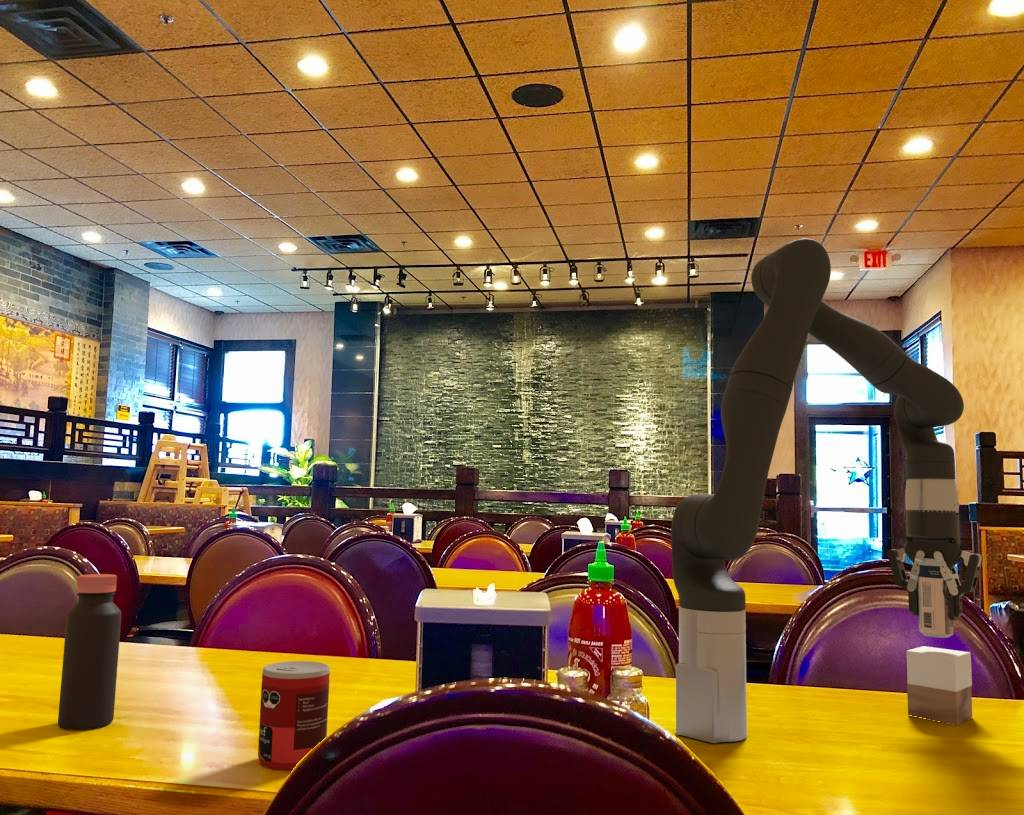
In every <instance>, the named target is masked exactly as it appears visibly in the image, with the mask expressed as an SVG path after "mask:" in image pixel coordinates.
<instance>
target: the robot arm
mask: <svg viewBox="0 0 1024 815" xmlns="http://www.w3.org/2000/svg"><path fill="white" fill-rule="evenodd" d="M831 266H832V265H831V260H830V256H829V253H828V251H827V249H825V247H824V246H823V245H822V244H821V243H820V242H818V241H817V240H815V239H811V238H799V239H794V240H793V241H789V242H788V243H785V244H783V245H782V246H780V247H778V248H776V249H775V250H773V251H772V252H770V253H768V254H767V255H765V256H764V257H762V258H761V259H759V261H757V262H756V263H755V265H754V267H753V268H752V271H751V272H752V273H751V278H750V281H751V286H752V288H753V289H752V290H753V291H754V293H755V295H756V296H757V298H758V299H759V300H760V301H761V302H762V303H763V304H765V305H766V306H767V311H766V313H765V315H764V317H763V319H762V320H761V322H760V324H759V325H758V326H757V328H756V329H755V331H754V333H753V334H752V335H751V337H750V338H749V340H748V341H747V343H745V346H744V347H743V349H742V351H741V352H740V354H739V355H738V357H737V359H736V360H735V362H734V363H733V365H732V366H733V367H732V368H731V371H730V374H729V377H728V380H727V383H726V387H725V389H724V392H723V396H722V400H721V405H720V419H721V427H722V430H723V435H724V436H723V437H724V440H725V446H726V456H725V457H726V458H725V462H724V463H725V464H724V467H723V471H722V475H721V477H720V481H719V483H718V485H717V488H716V490H715V493H709V494H708V493H702V494H701V493H699V494H698V493H696V494H691V495H687V496H686V497H683V499H681V500H680V501H679V502H678V504H677V506H676V507H675V509H674V510H673V511H674V512H673V515H672V519H671V530H670V539H671V540H670V542H671V543H670V544H671V545H670V546H671V561H672V563H671V564H672V577H673V578H672V579H673V584H674V587H675V590H676V591H677V595H678V663H677V664H676V666H675V734H676V735H680V736H683V737H687V738H691V739H695V740H699V741H702V742H707V743H710V744H717V743H727V742H728V743H730V742H738V741H742V740H745V739H746V738H747V736H748V716H747V715H748V714H747V712H748V710H747V709H748V706H747V702H748V701H747V700H748V699H747V644H746V642H747V639H746V638H747V635H746V633H747V632H746V631H747V622H746V621H747V620H746V619H747V618H746V616H747V615H746V608H747V606H746V605H747V603H746V602H747V601H746V600H747V599H746V593H745V592H746V591H745V590H744V588H743V587H742V586H740V585H739V584H738V583H736V582H735V581H734V580H733V579H732V578H731V576H730V575H729V573H728V571H727V569H726V562H725V561H735V560H739V559H741V558H742V557H745V556H746V555H747V553H748V552H749V551H750V550H751V548H752V546H753V544H754V543H755V540H756V538H757V533H758V531H759V528H760V527H759V525H760V522H761V515H762V511H763V504H764V498H765V493H766V487H767V481H768V477H769V476H768V475H769V472H770V468H771V464H772V461H773V456H774V453H775V448H776V446H777V441H778V437H779V434H780V431H781V430H780V429H781V426H782V423H783V420H784V418H785V415H786V412H787V409H788V406H789V402H790V398H791V395H792V391H793V388H794V383H795V378H796V375H797V372H798V368H799V366H800V362H801V359H802V356H803V352H804V349H805V345H806V342H807V340H808V336H809V335H811V336H812V337H813V338H815V339H816V340H818V341H819V342H820V343H822V344H823V345H824V346H826V347H828V348H829V349H830V350H832V351H833V352H834V353H836V354H837V355H838V356H839V357H841V358H842V359H843V360H844V361H845V362H846V363H847V364H849V365H850V366H851V367H852V368H853V369H854V370H855V371H857V373H858V374H860V375H861V377H863V378H864V379H865V380H866V381H867V382H868V383H869V384H871V385H872V386H873V387H874V388H875V389H876V390H877V391H879V392H880V393H883V394H888V395H895V396H897V397H896V399H895V403H894V406H893V407H894V409H893V414H894V421H895V424H896V427H897V428H896V429H897V431H898V435H899V438H900V441H901V445H902V447H903V450H904V453H905V471H906V473H905V476H906V477H905V478H906V481H905V482H906V484H905V493H904V494H905V495H904V497H905V498H904V500H905V503H904V504H905V528H906V533H905V534H906V543H905V544H904V547H902V548H901V547H900V548H892V549H888V550H887V551H886V556H887V558H888V562H889V567H890V569H891V573H892V577H893V579H894V584H895V585H896V587H900V588H903V589H905V590H906V591H907V595H908V596H907V597H908V609H909V612H911V613H912V616H913V617H919V612H918V579H919V572H920V570H919V564H920V562H923V560H924V558H928V559H935V560H936V562H937V563H939V564H940V565H941V566H940V571H941V574H942V576H943V579H944V581H945V582H946V584H947V586H948V589H949V591H950V594H951V595H949V596H948V598H949V619H950V620H953V621H959V617H960V618H961V617H963V616H962V615H963V596H964V595H965V594H967V593H971V592H975V591H976V589H977V585H978V580H979V576H980V573H981V569H982V564H983V560H984V556H983V555H982V554H981V553H972V552H969V551H966V550H964V548H963V547H962V545H961V538H960V537H961V536H960V534H961V533H960V511H959V508H960V502H959V494H958V492H959V491H958V488H957V482H956V479H957V478H956V458H955V450H954V448H953V447H952V446H951V444H949V443H946V442H942V441H939V440H938V438H937V435H936V433H935V428H938V427H939V428H940V427H945V426H949V425H953V424H955V423H956V422H957V421H959V420H960V418H961V417H962V416H963V413H964V408H965V405H964V404H965V403H964V398H963V396H962V394H961V393H960V390H958V388H957V387H956V386H955V385H954V384H953V383H952V382H951V381H950V380H949V379H947V378H946V377H945V376H943V375H940V374H939V373H937V372H936V371H934V370H933V369H931V368H929V367H927V366H926V365H924V364H922V363H919V362H918V361H916V360H914V359H912V358H911V357H910V356H909V355H908V354H907V353H906V352H905V350H903V349H902V348H901V347H900V346H899V345H898V344H896V342H895V341H893V340H892V339H891V337H889V336H888V335H887V334H885V332H882V331H881V330H879V329H878V328H876V327H875V326H872V325H871V324H869V323H866V322H864V321H863V320H860V319H857V318H855V317H853V316H851V315H849V314H846V313H843V312H841V311H840V310H838V309H836V308H835V307H832V306H831V305H830V304H828V303H826V302H825V301H824V300H823V299H824V296H825V293H826V292H827V288H828V286H829V283H830V279H831V275H832V274H831V271H832V269H831V268H832V267H831ZM906 556H907V558H908V559H909V560H910V562H911V563H912V568H911V569H910V573H909V579H908V576H907V571H906V569H905V565H904V561H905V560H906ZM961 559H963V563H964V565H965V567H966V571H965V574H964V579H963V582H962V584H961V581H960V576H959V574H958V571H957V569H956V565H957V564H958V563H959V561H960V560H961ZM943 566H944V567H943ZM950 571H951V572H950ZM945 572H946V573H945Z"/></svg>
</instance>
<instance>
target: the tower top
mask: <svg viewBox="0 0 1024 815" xmlns="http://www.w3.org/2000/svg"><path fill="white" fill-rule="evenodd" d="M906 668H907V669H906V673H907V675H906V676H907V678H906V679H907V681H906V682H907V684H912V685H918V686H924V687H930V688H936V689H942V690H948V691H954V692H957V691H960V690H962V689H964V688H967V687H969V686H971V687H972V686H973V676H972V654H971V652H970V651H964V650H957V649H955V650H954V649H947V648H941V647H935V646H934V647H933V646H925V645H923V646H918V647H915V648H912V649H908V650H906Z"/></svg>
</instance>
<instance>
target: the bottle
mask: <svg viewBox="0 0 1024 815" xmlns="http://www.w3.org/2000/svg"><path fill="white" fill-rule="evenodd" d="M76 581H77V582H76V592H77V593H76V596H77V597H78V599H77V600H78V602H77V603H76V604H75V605H74V606H73V607H72V608H71V609H70V610H69V611H68V612H67V614H66V618H65V629H64V630H65V632H64V644H63V657H62V665H61V666H62V669H61V670H62V671H61V682H60V692H59V703H58V715H57V726H58V727H59V729H62V730H67V731H89V730H95V729H99V728H102V727H105V726H108V725H111V724H112V722H113V721H114V717H115V702H116V691H117V690H116V689H117V679H118V678H117V676H118V665H119V664H118V663H119V651H120V650H119V649H120V639H121V638H120V636H121V627H122V626H121V625H122V610H121V609H120V608H119V607H118V606H117V605H116V603H115V602H114V601H113V600H114V599H113V598H114V596H115V595H116V593H115V592H116V591H117V581H118V576H117V575H116V574H111V573H110V574H109V573H106V574H105V573H95V574H82V575H78V576H77V580H76Z"/></svg>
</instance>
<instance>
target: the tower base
mask: <svg viewBox="0 0 1024 815" xmlns="http://www.w3.org/2000/svg"><path fill="white" fill-rule="evenodd" d="M906 689H907V716H908V715H912V716H917V717H922V718H926V719H930V720H935V721H940V722H939V723H941V722H944V723H943V724H946V723H949V724H948V725H951V724H954V725H953V726H956V725H958V726H960V725H961V723H962V724H963V723H965V722H967V721H969V720H971V719H972V718H973V701H972V700H973V699H972V686H969V687H967V688H964V689H962V690H960V691H957V692H954V691H948V690H942V689H936V688H930V687H924V686H918V685H912V684H908V683H906ZM971 717H972V718H971ZM970 718H971V719H970ZM968 719H969V720H968ZM930 720H929V721H930ZM966 720H967V721H966ZM935 721H934V722H935ZM964 721H965V722H964ZM959 724H960V725H959Z"/></svg>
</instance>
